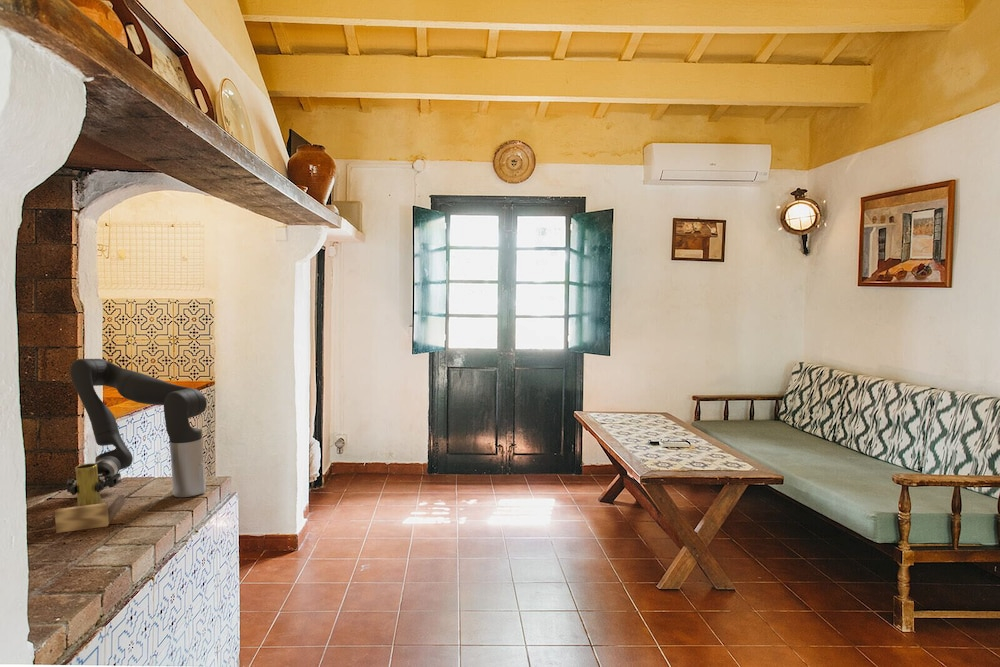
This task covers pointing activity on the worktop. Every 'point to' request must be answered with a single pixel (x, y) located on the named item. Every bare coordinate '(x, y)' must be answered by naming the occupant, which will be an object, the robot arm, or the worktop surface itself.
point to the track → (86, 515)
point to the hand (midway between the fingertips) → (85, 489)
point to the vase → (87, 484)
